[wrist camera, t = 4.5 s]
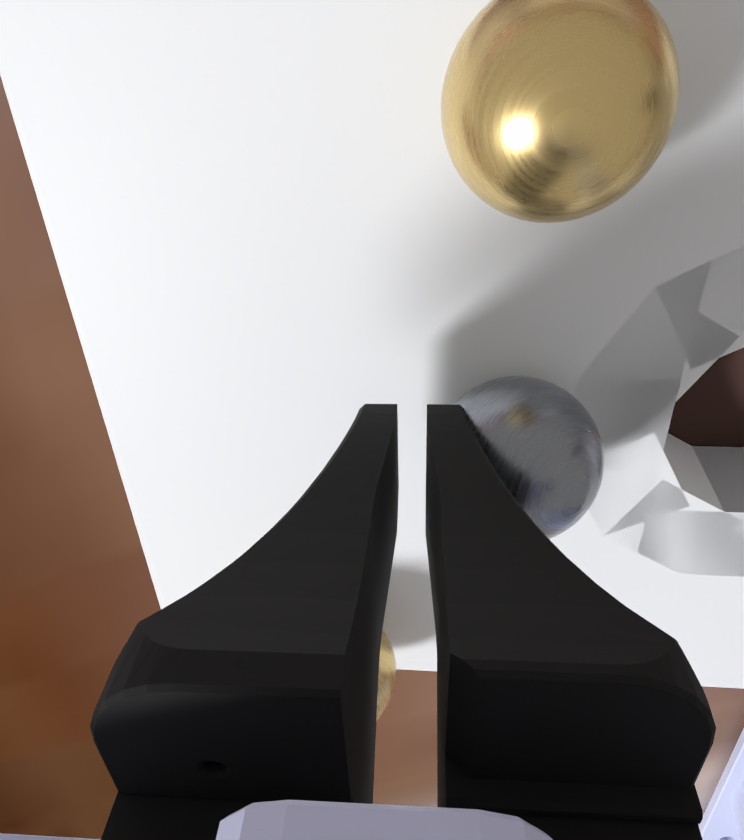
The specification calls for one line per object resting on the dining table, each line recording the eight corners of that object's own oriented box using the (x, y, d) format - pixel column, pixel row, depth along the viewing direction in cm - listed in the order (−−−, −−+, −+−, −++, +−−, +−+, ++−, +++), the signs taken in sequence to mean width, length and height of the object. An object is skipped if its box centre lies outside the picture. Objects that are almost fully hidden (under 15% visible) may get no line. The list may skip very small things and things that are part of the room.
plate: (1388, -100, 11) (1612, -112, 9) (930, 625, 20) (986, 702, 18) (42, -44, 13) (-36, -43, 11) (200, 591, 22) (175, 656, 20)
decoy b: (666, -39, 10) (746, -35, 7) (627, 187, 12) (681, 255, 9) (444, -30, 10) (442, -24, 8) (439, 188, 12) (436, 256, 9)
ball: (527, 340, 14) (652, 389, 12) (521, 471, 16) (632, 540, 13) (397, 376, 13) (508, 440, 11) (403, 517, 14) (502, 603, 12)
